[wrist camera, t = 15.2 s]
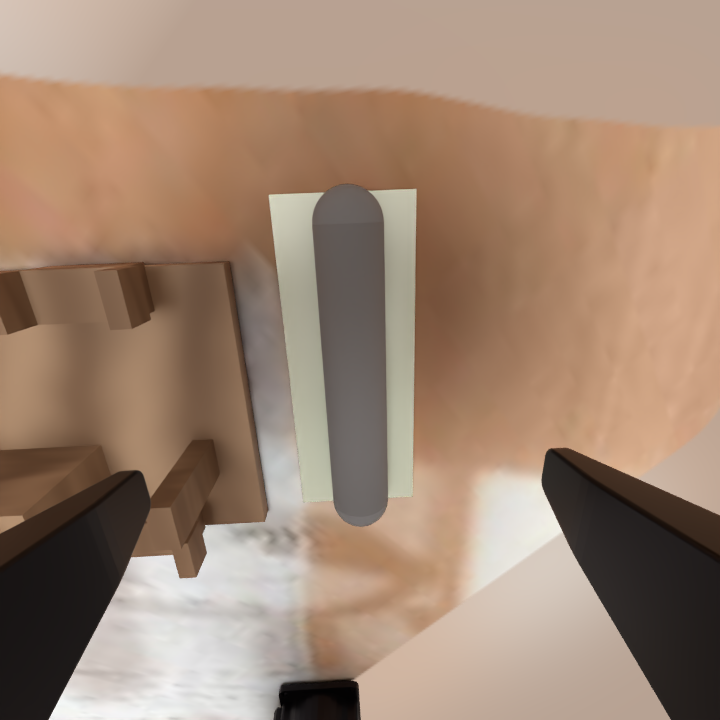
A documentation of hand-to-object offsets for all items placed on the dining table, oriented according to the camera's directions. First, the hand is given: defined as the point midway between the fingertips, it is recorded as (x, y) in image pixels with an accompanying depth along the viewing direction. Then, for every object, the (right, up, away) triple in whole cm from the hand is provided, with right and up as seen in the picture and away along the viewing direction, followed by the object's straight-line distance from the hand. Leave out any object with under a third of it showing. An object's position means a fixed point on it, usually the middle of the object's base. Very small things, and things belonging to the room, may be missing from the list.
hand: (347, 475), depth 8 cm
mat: (0, +2, +13) cm, 13 cm away
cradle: (-15, 0, +13) cm, 20 cm away
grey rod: (0, +2, +11) cm, 11 cm away
